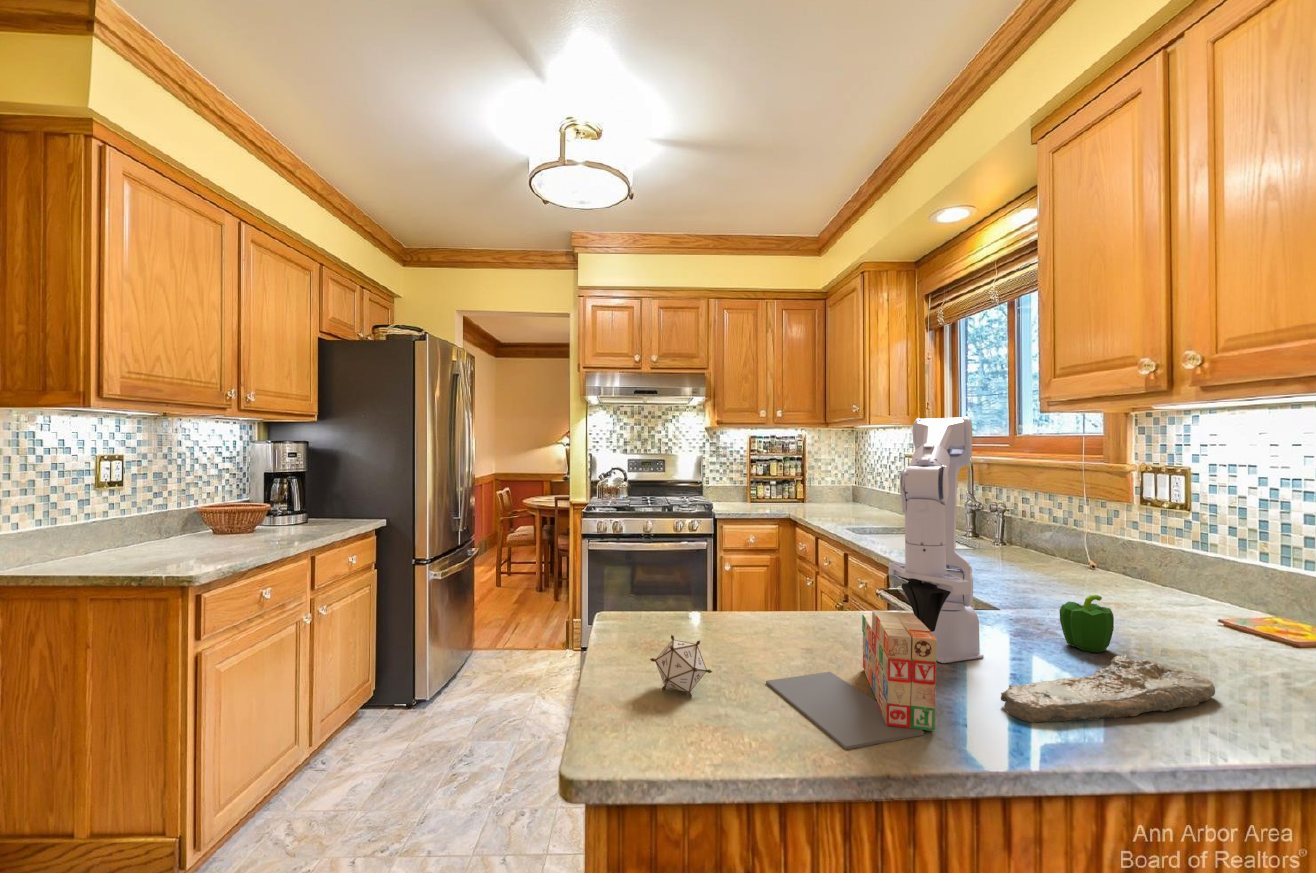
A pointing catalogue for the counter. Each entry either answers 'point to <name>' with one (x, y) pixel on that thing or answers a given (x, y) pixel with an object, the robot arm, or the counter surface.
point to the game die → (681, 665)
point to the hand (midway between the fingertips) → (926, 630)
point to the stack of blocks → (901, 668)
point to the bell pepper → (1087, 625)
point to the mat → (839, 709)
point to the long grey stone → (1108, 693)
